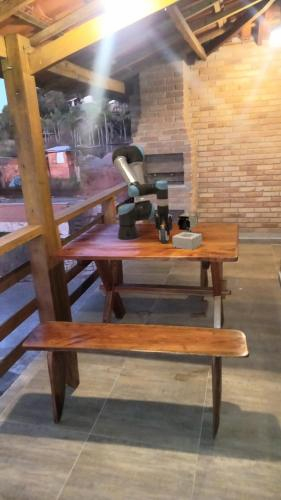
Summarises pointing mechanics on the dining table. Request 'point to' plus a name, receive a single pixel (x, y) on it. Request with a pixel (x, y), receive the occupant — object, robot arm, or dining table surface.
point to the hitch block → (187, 240)
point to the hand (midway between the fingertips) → (164, 239)
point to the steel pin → (163, 233)
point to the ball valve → (188, 221)
